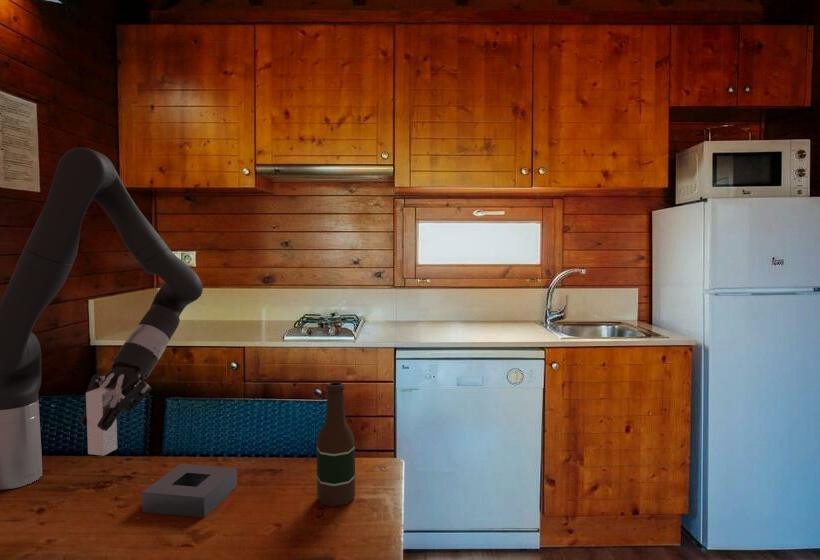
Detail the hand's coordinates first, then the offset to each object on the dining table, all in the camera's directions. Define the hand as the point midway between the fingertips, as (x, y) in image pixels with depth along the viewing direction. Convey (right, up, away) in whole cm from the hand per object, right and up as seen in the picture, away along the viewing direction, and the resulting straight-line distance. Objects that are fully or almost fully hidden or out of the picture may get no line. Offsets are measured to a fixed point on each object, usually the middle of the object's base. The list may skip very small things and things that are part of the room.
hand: (92, 426), depth 102 cm
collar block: (+16, -17, +8) cm, 24 cm away
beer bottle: (+45, -17, +8) cm, 49 cm away
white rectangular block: (+1, -5, +2) cm, 6 cm away
